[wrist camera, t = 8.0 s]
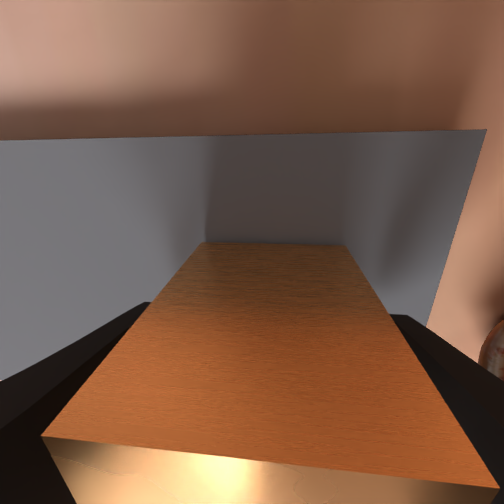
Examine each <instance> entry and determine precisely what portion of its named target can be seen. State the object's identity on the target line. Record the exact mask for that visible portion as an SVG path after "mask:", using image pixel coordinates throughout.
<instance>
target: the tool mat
mask: <svg viewBox="0 0 504 504" xmlns="http://www.w3.org/2000/svg"><path fill="white" fill-rule="evenodd" d="M486 131H487V129H484V130H441V131H397V132H353V133H310V134H266V135H222V136H179V137H135V138H91V139H48V140H4V141H0V380H4V379H6V378H8V377H10V376H12V375H14V374H16V373H18V372H20V371H22V370H24V369H26V368H28V367H30V366H32V365H34V364H36V363H38V362H39V361H41V360H43V359H45V358H47V357H48V356H50V355H52V354H54V353H56V352H57V351H59V350H61V349H63V348H65V347H66V346H68V345H70V344H72V343H74V342H75V341H77V340H79V339H81V338H82V337H84V336H86V335H88V334H89V333H91V332H93V331H94V330H96V329H98V328H99V327H101V326H103V325H104V324H106V323H108V322H110V321H111V320H113V319H115V318H116V317H118V316H120V315H121V314H123V313H125V312H126V311H128V310H130V309H132V308H134V307H135V306H137V305H139V304H141V303H143V302H152V301H153V300H154V299H155V297H156V296H157V295H158V294H159V293H160V291H161V290H162V289H163V288H164V287H165V285H166V284H167V283H168V282H169V281H170V279H171V278H172V277H173V276H174V275H175V273H176V272H177V271H178V270H179V269H180V267H181V266H182V265H183V264H184V263H185V261H186V260H187V259H188V258H189V257H190V255H191V254H192V253H193V252H194V250H195V249H196V248H197V247H198V246H199V244H200V243H201V242H222V243H264V244H306V245H345V246H346V247H347V249H348V250H349V252H350V254H351V255H352V257H353V258H354V260H355V261H356V263H357V264H358V266H359V268H360V269H361V271H362V272H363V274H364V275H365V277H366V279H367V280H368V282H369V283H370V285H371V286H372V288H373V290H374V291H375V293H376V294H377V296H378V297H379V299H380V301H381V302H382V304H383V305H384V307H385V308H386V310H387V312H388V313H389V314H402V315H408V316H410V317H412V318H413V319H415V320H416V321H418V322H419V323H421V324H422V325H424V326H425V327H426V325H427V321H428V318H429V315H430V312H431V308H432V305H433V302H434V299H435V296H436V292H437V289H438V286H439V283H440V279H441V276H442V273H443V270H444V267H445V263H446V260H447V257H448V254H449V250H450V247H451V244H452V241H453V238H454V234H455V231H456V228H457V225H458V221H459V218H460V215H461V212H462V209H463V205H464V202H465V199H466V196H467V192H468V189H469V186H470V183H471V180H472V176H473V173H474V170H475V167H476V163H477V160H478V157H479V154H480V151H481V147H482V144H483V141H484V138H485V134H486Z"/></svg>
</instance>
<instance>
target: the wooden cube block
mask: <svg viewBox="0 0 504 504" xmlns="http://www.w3.org/2000/svg"><path fill="white" fill-rule="evenodd" d="M41 437H42V439H43V441H44V443H45V445H46V447H47V449H48V451H49V452H50V454H51V456H52V458H53V460H54V462H55V464H56V466H57V467H58V469H59V471H60V473H61V475H62V477H63V479H64V481H65V482H66V484H67V486H68V488H69V490H70V492H71V494H72V496H73V497H74V499H75V501H76V503H77V504H491V502H492V501H493V499H494V498H495V496H496V495H497V493H498V492H499V490H500V487H499V486H498V484H497V483H496V481H495V479H494V478H493V476H492V475H491V473H490V472H489V470H488V468H487V467H486V465H485V464H484V462H483V461H482V459H481V457H480V456H479V454H478V453H477V451H476V450H475V448H474V446H473V445H472V443H471V442H470V440H469V439H468V437H467V435H466V434H465V432H464V431H463V429H462V428H461V426H460V424H459V423H458V421H457V420H456V418H455V417H454V415H453V414H452V412H451V410H450V409H449V407H448V406H447V404H446V403H445V401H444V399H443V398H442V396H441V395H440V393H439V392H438V390H437V388H436V387H435V385H434V384H433V382H432V381H431V379H430V377H429V376H428V374H427V373H426V371H425V370H424V368H423V366H422V365H421V363H420V362H419V360H418V359H417V357H416V355H415V354H414V352H413V351H412V349H411V348H410V346H409V344H408V343H407V341H406V340H405V338H404V337H403V335H402V334H401V332H400V330H399V329H398V327H397V326H396V324H395V323H394V321H393V319H392V318H391V316H390V315H389V313H388V312H387V310H386V308H385V307H384V305H383V304H382V302H381V301H380V299H379V297H378V296H377V294H376V293H375V291H374V290H373V288H372V286H371V285H370V283H369V282H368V280H367V279H366V277H365V275H364V274H363V272H362V271H361V269H360V268H359V266H358V264H357V263H356V261H355V260H354V258H353V257H352V255H351V254H350V252H349V250H348V249H347V247H346V246H345V245H306V244H264V243H222V242H201V243H200V244H199V246H198V247H197V248H196V249H195V250H194V252H193V253H192V254H191V255H190V257H189V258H188V259H187V260H186V261H185V263H184V264H183V265H182V266H181V267H180V269H179V270H178V271H177V272H176V273H175V275H174V276H173V277H172V278H171V279H170V281H169V282H168V283H167V284H166V285H165V287H164V288H163V289H162V290H161V291H160V293H159V294H158V295H157V296H156V297H155V299H154V300H153V301H152V302H151V303H150V305H149V306H148V307H147V308H146V310H145V311H144V312H143V313H142V314H141V316H140V317H139V318H138V319H137V320H136V322H135V323H134V324H133V325H132V326H131V328H130V329H129V330H128V331H127V332H126V334H125V335H124V336H123V337H122V338H121V340H120V341H119V342H118V343H117V344H116V346H115V347H114V348H113V349H112V350H111V352H110V353H109V354H108V355H107V356H106V358H105V359H104V360H103V361H102V363H101V364H100V365H99V366H98V367H97V369H96V370H95V371H94V372H93V373H92V375H91V376H90V377H89V378H88V379H87V381H86V382H85V383H84V384H83V385H82V387H81V388H80V389H79V390H78V391H77V393H76V394H75V395H74V396H73V397H72V399H71V400H70V401H69V402H68V403H67V405H66V406H65V407H64V408H63V409H62V411H61V412H60V413H59V414H58V416H57V417H56V418H55V419H54V420H53V422H52V423H51V424H50V425H49V426H48V428H47V429H46V430H45V431H44V432H43V434H42V435H41Z"/></svg>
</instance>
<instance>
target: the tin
mask: <svg viewBox="0 0 504 504" xmlns="http://www.w3.org/2000/svg"><path fill="white" fill-rule="evenodd" d="M478 364H479V365H481V366H482V367H483V368H485V369H486V370H488V371H489V372H491V373H492V374H494V375H495V376H497V377H498V378H500V379H501V380H503V381H504V319H503V320H502V321H501V322H500V323H499V324H497V325H496V326H495V327H494V328H493V330H492V331H491V332H490V333H489V335H488V336H487V338H486V340H485V341H484V343H483V345H482V347H481V351H480V355H479V360H478Z"/></svg>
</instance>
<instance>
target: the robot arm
mask: <svg viewBox="0 0 504 504" xmlns="http://www.w3.org/2000/svg"><path fill="white" fill-rule="evenodd" d="M150 303H151V302H143V303H141V304H139V305H137V306H135V307H134V308H132V309H130V310H128V311H126V312H125V313H123V314H121V315H120V316H118V317H116V318H115V319H113V320H111V321H110V322H108V323H106V324H104V325H103V326H101V327H99V328H98V329H96V330H94V331H93V332H91V333H89V334H88V335H86V336H84V337H82V338H81V339H79V340H77V341H75V342H74V343H72V344H70V345H68V346H66V347H65V348H63V349H61V350H59V351H57V352H56V353H54V354H52V355H50V356H48V357H47V358H45V359H43V360H41V361H39V362H38V363H36V364H34V365H32V366H30V367H28V368H26V369H24V370H22V371H20V372H18V373H16V374H14V375H12V376H10V377H8V378H6V379H4V380H2V381H0V504H77V503H76V501H75V499H74V497H73V496H72V494H71V492H70V490H69V488H68V486H67V484H66V482H65V481H64V479H63V477H62V475H61V473H60V471H59V469H58V467H57V466H56V464H55V462H54V460H53V458H52V456H51V454H50V452H49V451H48V449H47V447H46V445H45V443H44V441H43V439H42V437H41V435H42V434H43V432H44V431H45V430H46V429H47V428H48V426H49V425H50V424H51V423H52V422H53V420H54V419H55V418H56V417H57V416H58V414H59V413H60V412H61V411H62V409H63V408H64V407H65V406H66V405H67V403H68V402H69V401H70V400H71V399H72V397H73V396H74V395H75V394H76V393H77V391H78V390H79V389H80V388H81V387H82V385H83V384H84V383H85V382H86V381H87V379H88V378H89V377H90V376H91V375H92V373H93V372H94V371H95V370H96V369H97V367H98V366H99V365H100V364H101V363H102V361H103V360H104V359H105V358H106V356H107V355H108V354H109V353H110V352H111V350H112V349H113V348H114V347H115V346H116V344H117V343H118V342H119V341H120V340H121V338H122V337H123V336H124V335H125V334H126V332H127V331H128V330H129V329H130V328H131V326H132V325H133V324H134V323H135V322H136V320H137V319H138V318H139V317H140V316H141V314H142V313H143V312H144V311H145V310H146V308H147V307H148V306H149V305H150ZM389 315H390V316H391V318H392V319H393V321H394V323H395V324H396V326H397V327H398V329H399V330H400V332H401V334H402V335H403V337H404V338H405V340H406V341H407V343H408V344H409V346H410V348H411V349H412V351H413V352H414V354H415V355H416V357H417V359H418V360H419V362H420V363H421V365H422V366H423V368H424V370H425V371H426V373H427V374H428V376H429V377H430V379H431V381H432V382H433V384H434V385H435V387H436V388H437V390H438V392H439V393H440V395H441V396H442V398H443V399H444V401H445V403H446V404H447V406H448V407H449V409H450V410H451V412H452V414H453V415H454V417H455V418H456V420H457V421H458V423H459V424H460V426H461V428H462V429H463V431H464V432H465V434H466V435H467V437H468V439H469V440H470V442H471V443H472V445H473V446H474V448H475V450H476V451H477V453H478V454H479V456H480V457H481V459H482V461H483V462H484V464H485V465H486V467H487V468H488V470H489V472H490V473H491V475H492V476H493V478H494V479H495V481H496V483H497V484H498V486H499V487H500V490H499V492H498V493H497V495H496V496H495V498H494V499H493V501H492V502H491V504H504V381H503V380H501V379H500V378H498V377H497V376H495V375H494V374H492V373H491V372H489V371H488V370H486V369H485V368H483V367H482V366H481V365H479V364H478V363H476V362H475V361H473V360H472V359H470V358H469V357H468V356H466V355H465V354H463V353H462V352H460V351H459V350H458V349H456V348H455V347H453V346H452V345H451V344H449V343H448V342H446V341H445V340H444V339H442V338H441V337H439V336H438V335H436V334H435V333H434V332H432V331H431V330H429V329H428V328H426V327H425V326H424V325H422V324H421V323H419V322H418V321H416V320H415V319H413V318H412V317H410V316H408V315H402V314H389Z"/></svg>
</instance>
